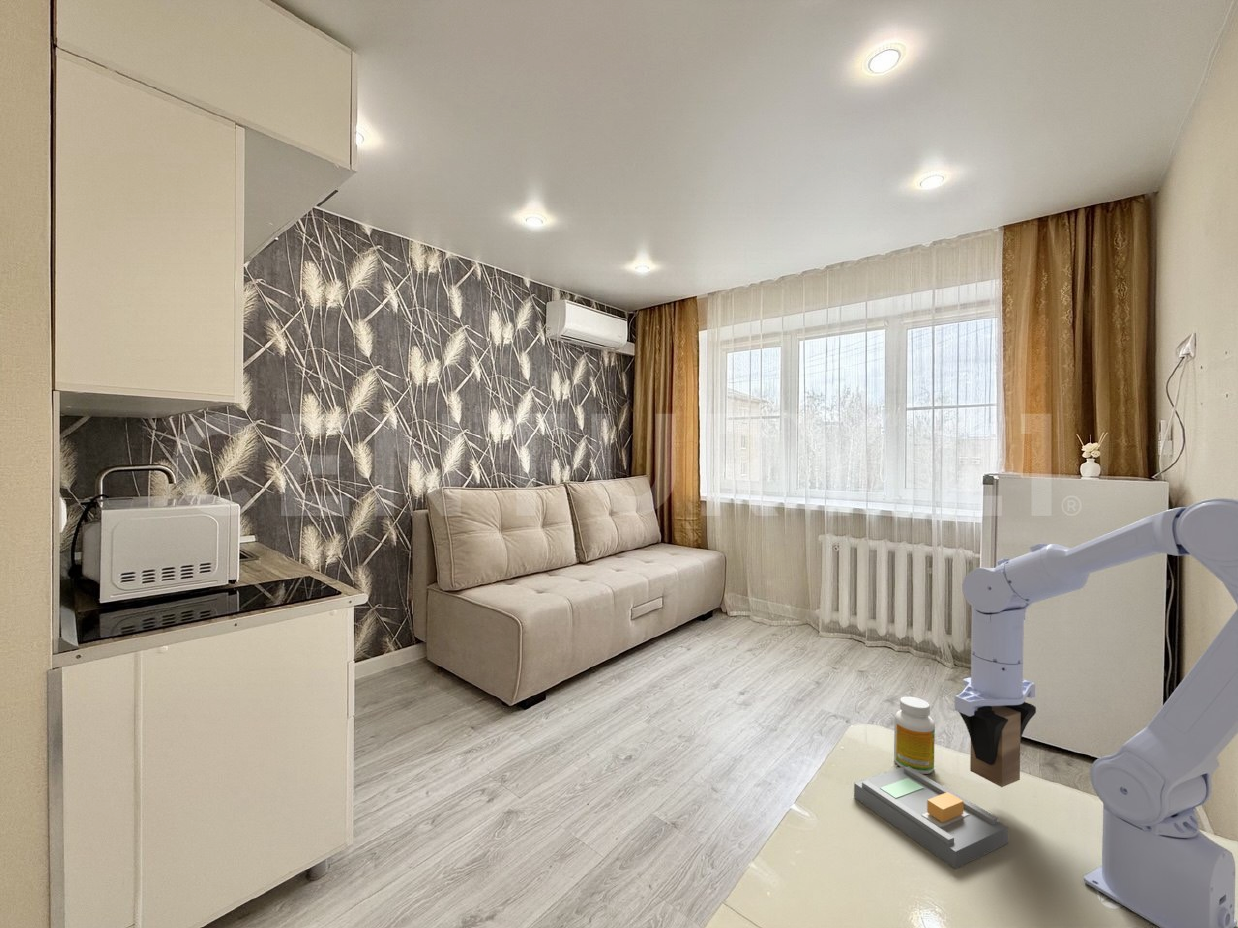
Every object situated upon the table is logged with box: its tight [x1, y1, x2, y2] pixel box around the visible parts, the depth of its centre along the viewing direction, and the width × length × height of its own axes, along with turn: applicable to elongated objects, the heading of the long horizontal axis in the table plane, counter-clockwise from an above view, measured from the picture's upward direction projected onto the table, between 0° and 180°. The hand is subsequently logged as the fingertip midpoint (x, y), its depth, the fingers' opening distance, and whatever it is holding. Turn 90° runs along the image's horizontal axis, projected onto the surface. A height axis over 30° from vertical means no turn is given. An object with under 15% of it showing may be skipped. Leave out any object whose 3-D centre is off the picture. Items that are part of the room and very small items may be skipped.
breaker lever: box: [927, 792, 964, 822], centre depth 66 cm, size 2×4×2 cm, turn 115°
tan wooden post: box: [969, 705, 1021, 788], centre depth 71 cm, size 4×4×9 cm
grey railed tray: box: [853, 766, 1009, 870], centre depth 69 cm, size 14×10×3 cm
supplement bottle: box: [893, 696, 936, 775], centre depth 81 cm, size 5×5×10 cm
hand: (995, 757), depth 71 cm, fingers closed on tan wooden post, 4 cm apart
